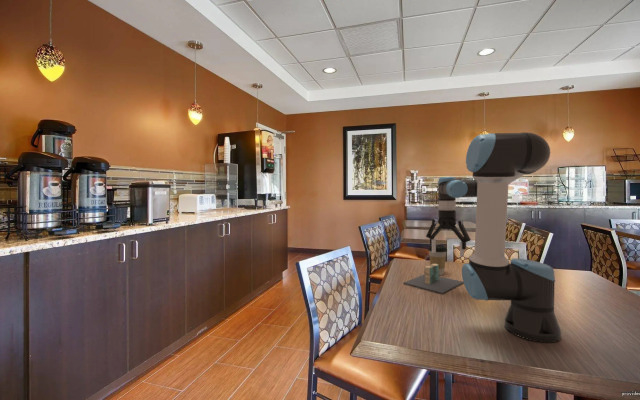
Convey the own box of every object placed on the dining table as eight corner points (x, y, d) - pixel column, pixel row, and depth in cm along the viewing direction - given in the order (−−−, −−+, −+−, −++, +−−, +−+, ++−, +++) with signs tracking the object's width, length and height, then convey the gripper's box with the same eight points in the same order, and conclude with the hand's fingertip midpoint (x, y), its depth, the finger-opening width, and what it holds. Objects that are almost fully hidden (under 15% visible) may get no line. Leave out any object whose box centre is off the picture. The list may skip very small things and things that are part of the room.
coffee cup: (448, 272, 166) (448, 246, 166) (445, 277, 158) (445, 249, 158) (430, 270, 172) (430, 244, 171) (426, 274, 163) (426, 247, 163)
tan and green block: (430, 284, 145) (430, 267, 145) (424, 282, 147) (424, 266, 147) (438, 280, 151) (438, 264, 150) (433, 279, 153) (433, 263, 153)
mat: (442, 294, 133) (442, 292, 133) (403, 284, 148) (403, 282, 148) (463, 283, 148) (463, 281, 148) (426, 275, 162) (426, 273, 162)
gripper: (478, 210, 134) (478, 256, 135) (426, 208, 153) (426, 249, 153) (471, 210, 129) (471, 259, 130) (418, 209, 148) (419, 251, 148)
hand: (447, 254), depth 141 cm, fingers open, 13 cm apart
